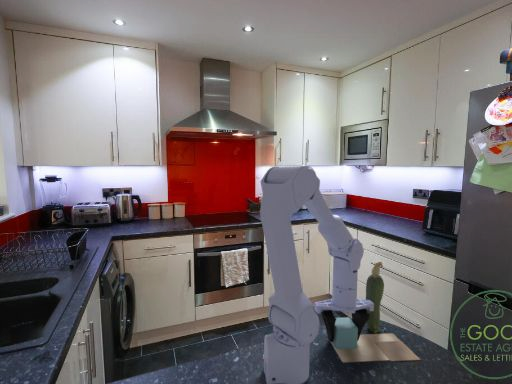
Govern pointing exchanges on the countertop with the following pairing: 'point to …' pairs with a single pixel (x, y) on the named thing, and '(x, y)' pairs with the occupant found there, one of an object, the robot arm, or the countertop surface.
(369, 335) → the maple board
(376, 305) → the vegetable
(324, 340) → the countertop surface
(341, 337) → the teal block
